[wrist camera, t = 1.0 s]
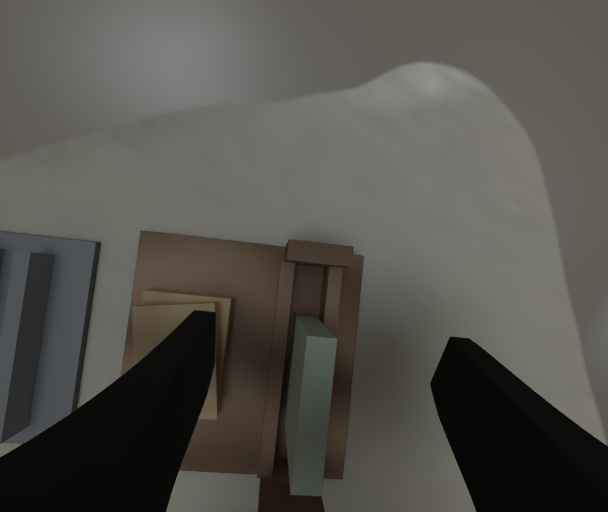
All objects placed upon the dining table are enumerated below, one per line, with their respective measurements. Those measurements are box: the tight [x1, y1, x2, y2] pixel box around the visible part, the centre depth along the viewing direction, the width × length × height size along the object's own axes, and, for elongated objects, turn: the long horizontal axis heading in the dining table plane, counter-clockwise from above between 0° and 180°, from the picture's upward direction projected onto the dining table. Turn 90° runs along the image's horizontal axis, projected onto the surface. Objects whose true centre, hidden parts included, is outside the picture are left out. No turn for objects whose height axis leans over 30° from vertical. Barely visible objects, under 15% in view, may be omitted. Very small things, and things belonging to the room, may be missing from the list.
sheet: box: [284, 312, 337, 496], centre depth 17 cm, size 6×1×8 cm, turn 174°
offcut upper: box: [133, 302, 220, 414], centre depth 19 cm, size 6×4×1 cm
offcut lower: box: [142, 290, 233, 420], centre depth 20 cm, size 7×5×1 cm
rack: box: [121, 231, 364, 512], centre depth 18 cm, size 14×14×6 cm
